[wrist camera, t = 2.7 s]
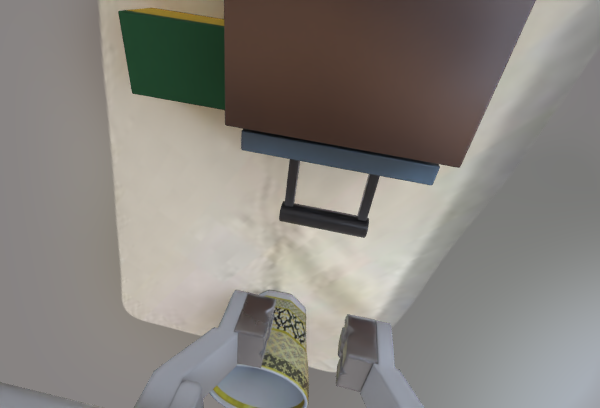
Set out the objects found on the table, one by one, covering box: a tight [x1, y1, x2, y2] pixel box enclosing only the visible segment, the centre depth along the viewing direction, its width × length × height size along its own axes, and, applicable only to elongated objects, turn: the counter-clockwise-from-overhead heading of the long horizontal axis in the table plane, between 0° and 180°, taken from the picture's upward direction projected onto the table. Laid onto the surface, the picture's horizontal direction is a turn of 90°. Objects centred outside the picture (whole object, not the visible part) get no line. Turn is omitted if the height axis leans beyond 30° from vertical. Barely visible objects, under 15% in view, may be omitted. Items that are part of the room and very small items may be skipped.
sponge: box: [118, 8, 225, 110], centre depth 22 cm, size 5×7×4 cm
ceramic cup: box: [209, 290, 309, 408], centre depth 35 cm, size 13×10×10 cm
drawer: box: [241, 129, 440, 238], centre depth 19 cm, size 19×11×7 cm, turn 173°
